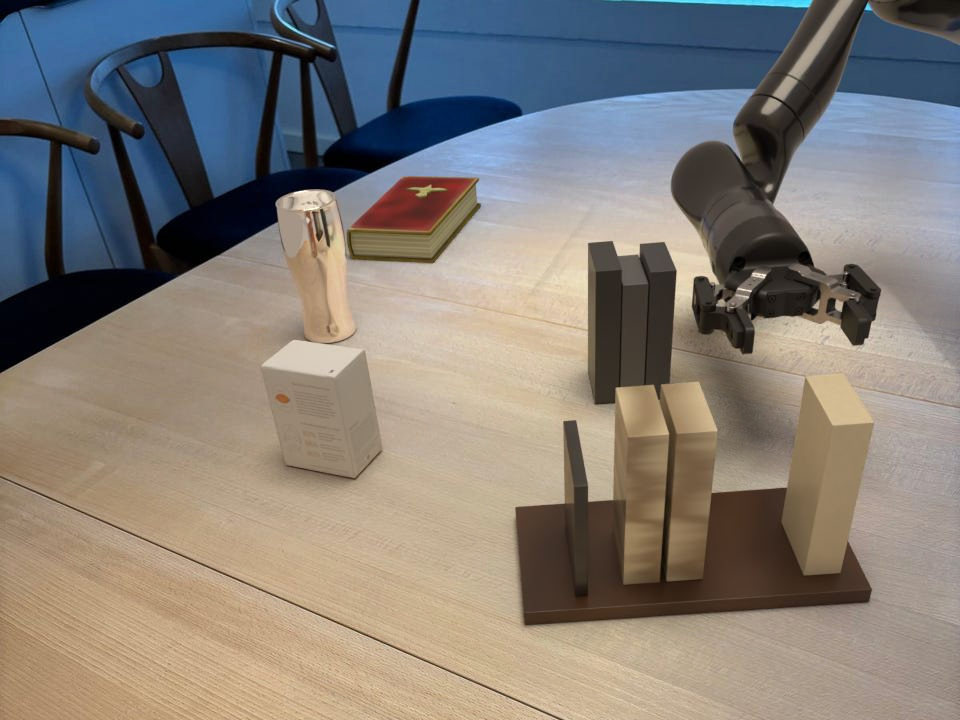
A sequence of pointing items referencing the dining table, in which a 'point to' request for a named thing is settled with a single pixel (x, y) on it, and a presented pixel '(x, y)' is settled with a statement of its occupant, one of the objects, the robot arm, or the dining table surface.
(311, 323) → the beer glass
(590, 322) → the grey books
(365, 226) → the hardcover book
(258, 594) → the dining table surface
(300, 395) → the small box
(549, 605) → the shelf
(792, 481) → the cream book
